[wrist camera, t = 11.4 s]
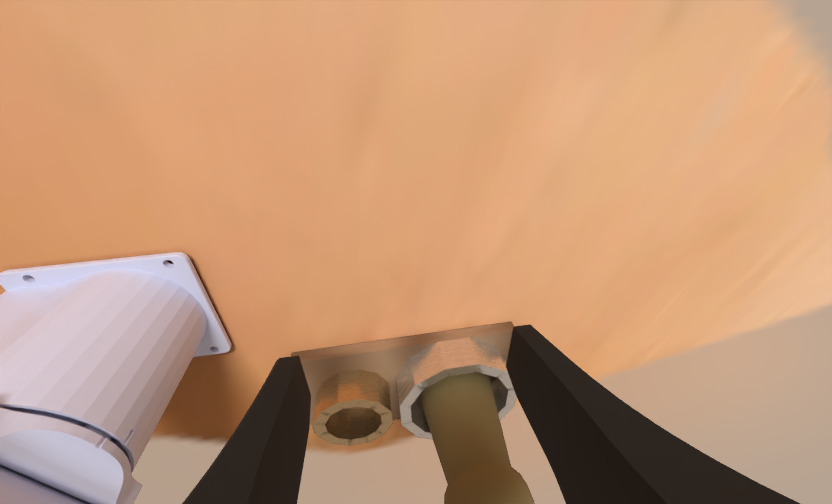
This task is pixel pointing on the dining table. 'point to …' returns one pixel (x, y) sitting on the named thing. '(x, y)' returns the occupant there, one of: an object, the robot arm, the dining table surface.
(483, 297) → the dining table surface
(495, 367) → the wide steel ring
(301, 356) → the smooth grayish brown board
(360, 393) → the narrow bronze ring
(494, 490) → the olive bulbous peg
